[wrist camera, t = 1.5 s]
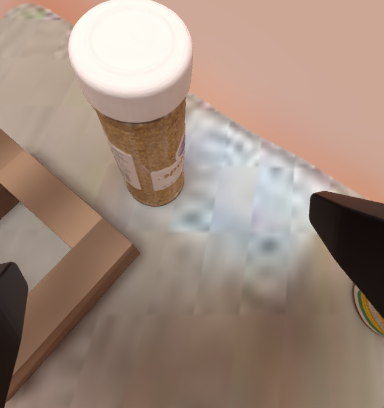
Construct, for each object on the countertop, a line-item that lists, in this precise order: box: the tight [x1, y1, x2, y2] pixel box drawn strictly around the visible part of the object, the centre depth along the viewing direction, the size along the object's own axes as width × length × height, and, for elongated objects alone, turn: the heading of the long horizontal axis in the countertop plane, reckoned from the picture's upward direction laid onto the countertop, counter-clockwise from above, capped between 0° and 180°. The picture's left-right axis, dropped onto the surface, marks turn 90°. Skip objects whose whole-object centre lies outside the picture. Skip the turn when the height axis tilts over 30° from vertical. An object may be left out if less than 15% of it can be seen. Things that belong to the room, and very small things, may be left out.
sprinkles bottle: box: [68, 0, 193, 206], centre depth 17 cm, size 5×5×13 cm
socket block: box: [0, 129, 140, 402], centre depth 19 cm, size 12×12×4 cm
